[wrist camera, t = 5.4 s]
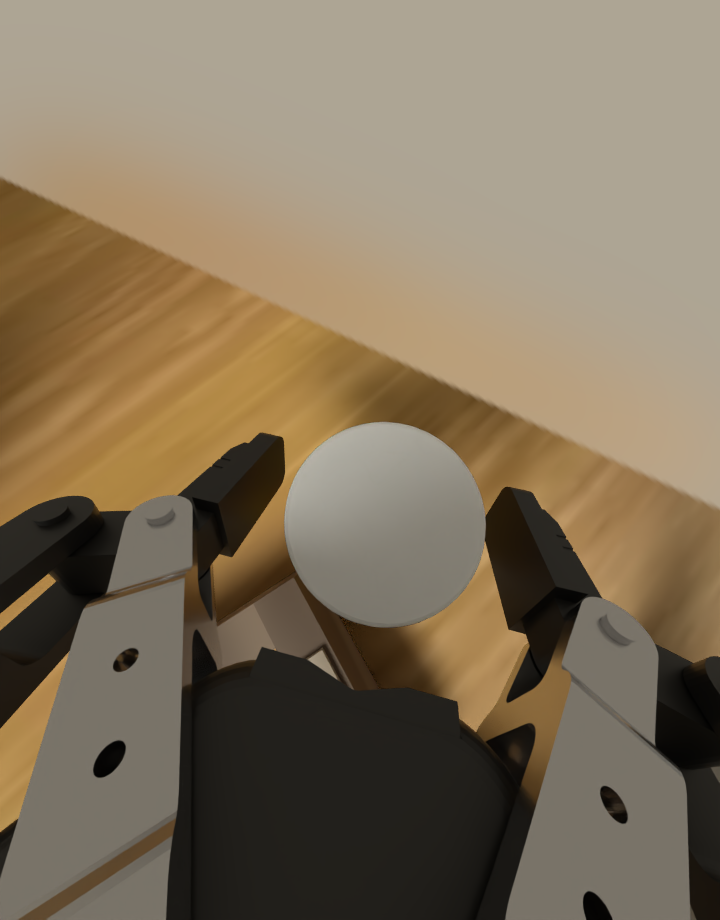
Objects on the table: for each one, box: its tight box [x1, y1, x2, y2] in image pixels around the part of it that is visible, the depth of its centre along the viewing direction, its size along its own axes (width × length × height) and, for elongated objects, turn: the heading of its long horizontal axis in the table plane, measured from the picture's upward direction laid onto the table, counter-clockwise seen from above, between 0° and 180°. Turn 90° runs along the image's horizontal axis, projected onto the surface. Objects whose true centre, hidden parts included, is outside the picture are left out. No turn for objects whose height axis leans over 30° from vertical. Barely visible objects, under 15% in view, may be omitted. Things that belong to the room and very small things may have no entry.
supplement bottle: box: [284, 422, 486, 628], centre depth 10 cm, size 5×5×10 cm
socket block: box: [217, 571, 379, 691], centre depth 11 cm, size 11×11×3 cm
